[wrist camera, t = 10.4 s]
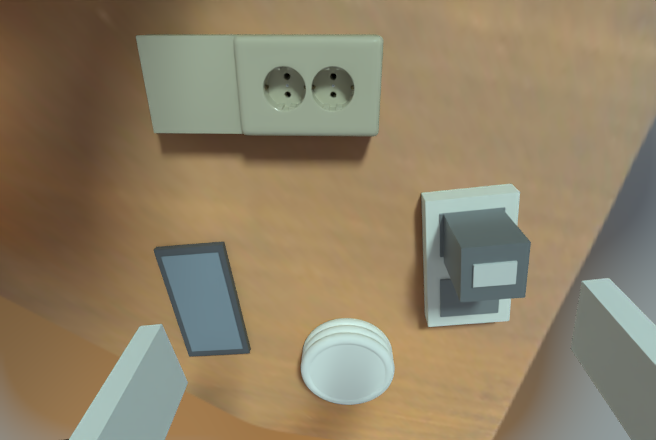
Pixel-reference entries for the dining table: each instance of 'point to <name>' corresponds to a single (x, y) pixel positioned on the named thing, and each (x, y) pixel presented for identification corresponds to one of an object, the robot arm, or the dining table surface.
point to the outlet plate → (437, 282)
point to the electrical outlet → (263, 83)
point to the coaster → (347, 361)
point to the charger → (485, 255)
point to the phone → (204, 298)
